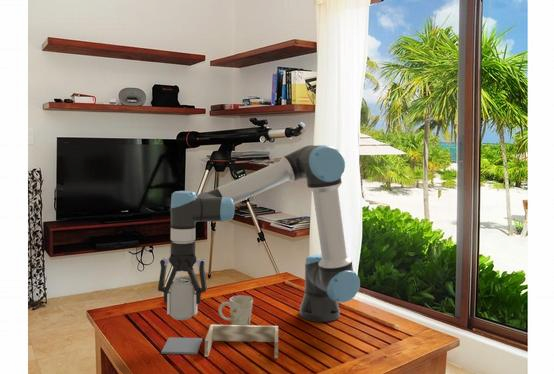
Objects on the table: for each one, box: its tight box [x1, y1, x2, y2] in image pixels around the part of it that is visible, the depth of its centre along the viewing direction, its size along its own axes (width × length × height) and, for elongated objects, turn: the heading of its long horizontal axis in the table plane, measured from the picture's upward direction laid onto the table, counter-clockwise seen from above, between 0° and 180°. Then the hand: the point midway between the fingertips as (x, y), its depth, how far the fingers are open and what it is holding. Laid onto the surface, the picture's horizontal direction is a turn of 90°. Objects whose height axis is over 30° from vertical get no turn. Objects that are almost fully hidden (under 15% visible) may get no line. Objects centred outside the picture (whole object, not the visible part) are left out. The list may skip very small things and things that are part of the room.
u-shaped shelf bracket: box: [204, 324, 279, 359], centre depth 151 cm, size 22×13×5 cm, turn 90°
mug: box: [218, 295, 254, 325], centre depth 169 cm, size 8×13×10 cm, turn 78°
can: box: [169, 276, 196, 321], centre depth 150 cm, size 8×8×12 cm
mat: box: [160, 336, 204, 355], centre depth 151 cm, size 11×11×1 cm
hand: (182, 313), depth 150 cm, fingers closed on can, 7 cm apart
